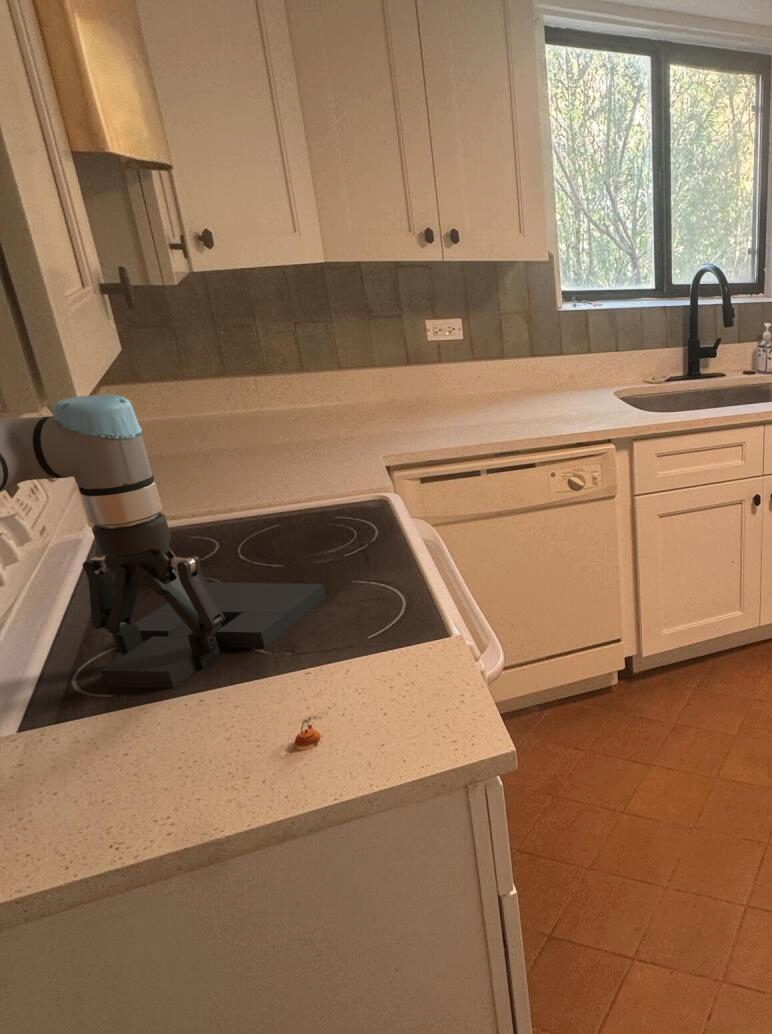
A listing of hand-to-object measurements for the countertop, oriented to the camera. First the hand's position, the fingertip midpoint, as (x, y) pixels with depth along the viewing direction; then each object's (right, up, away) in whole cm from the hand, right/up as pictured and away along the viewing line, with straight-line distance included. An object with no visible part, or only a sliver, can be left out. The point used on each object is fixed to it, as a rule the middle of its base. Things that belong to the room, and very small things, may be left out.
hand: (174, 672), depth 107 cm
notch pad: (0, +4, +12) cm, 13 cm away
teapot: (+26, -6, -14) cm, 30 cm away
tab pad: (0, 0, +1) cm, 1 cm away
